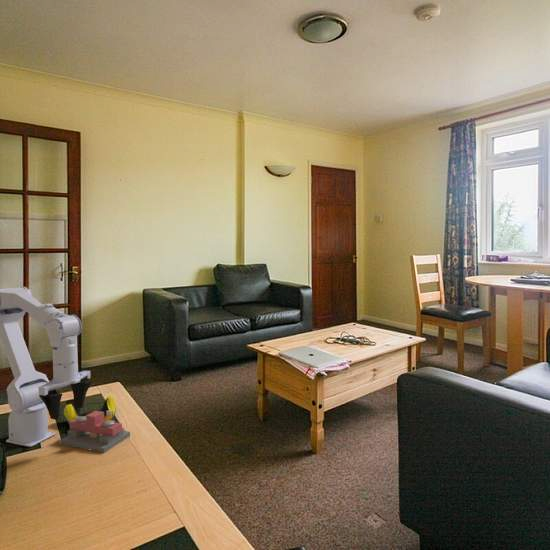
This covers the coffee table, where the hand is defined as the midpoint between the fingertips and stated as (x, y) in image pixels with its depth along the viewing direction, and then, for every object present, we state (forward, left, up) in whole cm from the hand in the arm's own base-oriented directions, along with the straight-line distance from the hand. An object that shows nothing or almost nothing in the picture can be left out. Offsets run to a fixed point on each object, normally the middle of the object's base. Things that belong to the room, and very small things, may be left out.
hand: (67, 412), depth 101 cm
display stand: (+3, +7, -10) cm, 13 cm away
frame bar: (+3, +7, -7) cm, 10 cm away
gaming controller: (-9, +17, -11) cm, 22 cm away
